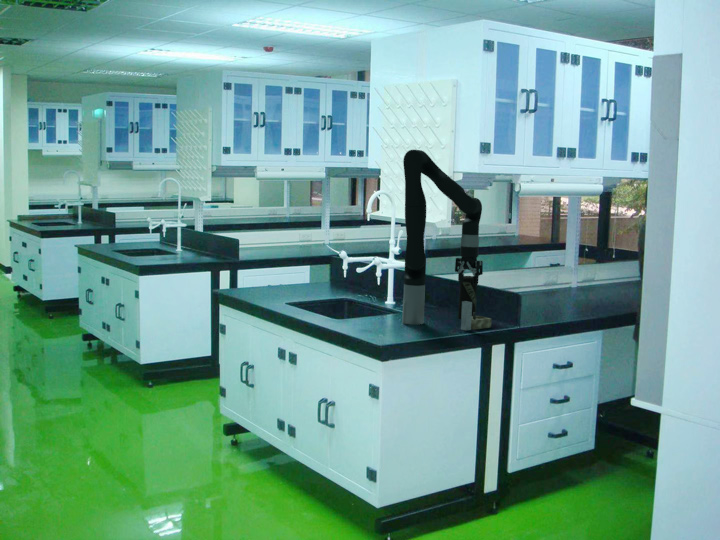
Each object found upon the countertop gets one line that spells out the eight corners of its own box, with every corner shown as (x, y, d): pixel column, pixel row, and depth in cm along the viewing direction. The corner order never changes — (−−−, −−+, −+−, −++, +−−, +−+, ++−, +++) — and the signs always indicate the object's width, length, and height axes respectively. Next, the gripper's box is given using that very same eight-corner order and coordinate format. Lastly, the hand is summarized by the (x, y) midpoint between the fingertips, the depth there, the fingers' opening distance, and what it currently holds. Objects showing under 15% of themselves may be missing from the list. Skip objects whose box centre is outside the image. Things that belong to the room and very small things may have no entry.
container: (466, 321, 340) (468, 277, 338) (453, 318, 347) (454, 275, 345) (480, 319, 345) (482, 276, 343) (466, 316, 352) (468, 274, 350)
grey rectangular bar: (465, 330, 318) (467, 302, 316) (460, 329, 320) (462, 301, 319) (470, 330, 319) (472, 302, 318) (466, 328, 322) (467, 301, 320)
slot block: (474, 329, 321) (475, 313, 320) (461, 326, 327) (462, 310, 326) (491, 327, 326) (491, 311, 326) (478, 324, 333) (478, 308, 332)
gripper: (488, 246, 312) (486, 285, 314) (464, 243, 324) (462, 281, 325) (475, 247, 308) (473, 286, 310) (451, 244, 319) (449, 282, 321)
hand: (467, 283), depth 318 cm, fingers open, 8 cm apart
